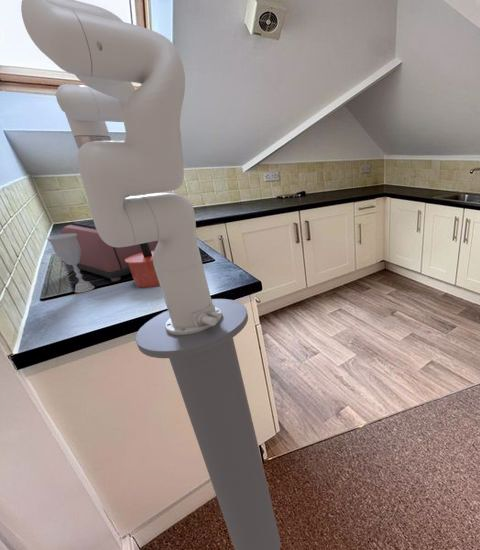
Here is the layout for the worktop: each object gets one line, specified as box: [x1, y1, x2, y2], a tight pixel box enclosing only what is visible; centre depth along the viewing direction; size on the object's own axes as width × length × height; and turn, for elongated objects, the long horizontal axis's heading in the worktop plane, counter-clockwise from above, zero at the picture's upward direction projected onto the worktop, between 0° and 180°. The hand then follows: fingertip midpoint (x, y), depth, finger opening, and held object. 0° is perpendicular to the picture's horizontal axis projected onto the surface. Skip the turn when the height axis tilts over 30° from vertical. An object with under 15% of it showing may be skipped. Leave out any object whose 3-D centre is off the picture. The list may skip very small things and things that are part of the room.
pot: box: [128, 262, 160, 288], centre depth 102 cm, size 12×12×8 cm
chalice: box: [46, 233, 96, 294], centre depth 95 cm, size 7×7×18 cm
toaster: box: [60, 219, 158, 282], centre depth 120 cm, size 31×36×18 cm
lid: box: [125, 242, 154, 264], centre depth 99 cm, size 13×13×7 cm
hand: (116, 207), depth 87 cm, fingers open, 9 cm apart
